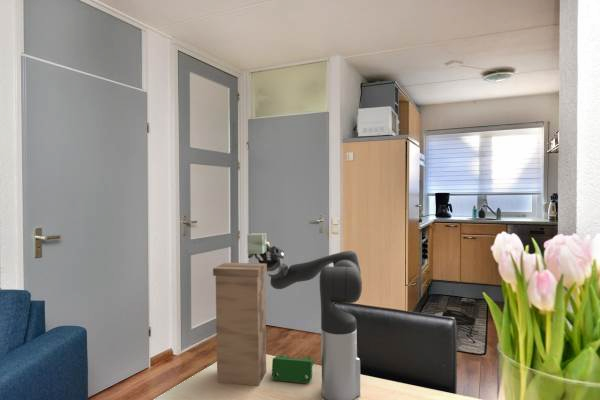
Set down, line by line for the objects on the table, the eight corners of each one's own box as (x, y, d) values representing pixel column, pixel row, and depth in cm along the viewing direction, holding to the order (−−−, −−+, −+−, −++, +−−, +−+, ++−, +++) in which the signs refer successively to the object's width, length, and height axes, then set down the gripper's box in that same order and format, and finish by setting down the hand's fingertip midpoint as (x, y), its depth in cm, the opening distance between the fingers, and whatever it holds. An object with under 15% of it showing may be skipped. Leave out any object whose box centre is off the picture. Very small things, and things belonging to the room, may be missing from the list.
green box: (307, 391, 111) (320, 361, 112) (302, 396, 105) (316, 365, 106) (271, 370, 114) (284, 341, 115) (265, 374, 109) (279, 343, 110)
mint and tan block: (259, 247, 138) (259, 230, 138) (273, 247, 138) (272, 230, 137) (247, 253, 125) (247, 235, 125) (262, 253, 124) (262, 235, 124)
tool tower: (226, 368, 116) (224, 262, 115) (268, 371, 114) (266, 263, 113) (214, 382, 107) (213, 268, 107) (260, 386, 105) (258, 269, 104)
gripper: (254, 252, 147) (241, 234, 132) (289, 252, 145) (280, 234, 130) (251, 271, 144) (238, 254, 129) (288, 272, 141) (278, 255, 126)
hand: (259, 244), depth 129 cm, fingers closed on mint and tan block, 2 cm apart
